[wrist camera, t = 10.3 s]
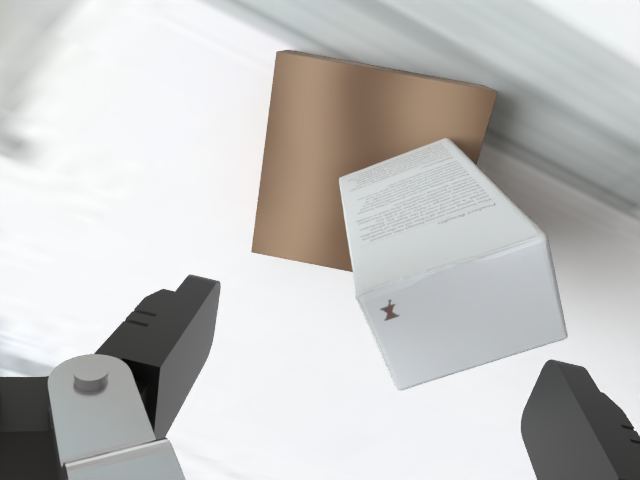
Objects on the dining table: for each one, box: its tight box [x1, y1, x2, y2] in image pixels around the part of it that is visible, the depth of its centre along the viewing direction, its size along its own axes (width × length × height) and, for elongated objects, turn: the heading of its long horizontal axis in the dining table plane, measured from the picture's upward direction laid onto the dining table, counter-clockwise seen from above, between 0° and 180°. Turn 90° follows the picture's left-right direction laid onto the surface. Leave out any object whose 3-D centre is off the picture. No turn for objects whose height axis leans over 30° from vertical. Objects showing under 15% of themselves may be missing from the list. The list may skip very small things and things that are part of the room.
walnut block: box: [252, 50, 497, 272], centre depth 29 cm, size 11×11×4 cm
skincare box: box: [339, 138, 567, 390], centre depth 21 cm, size 6×4×12 cm
